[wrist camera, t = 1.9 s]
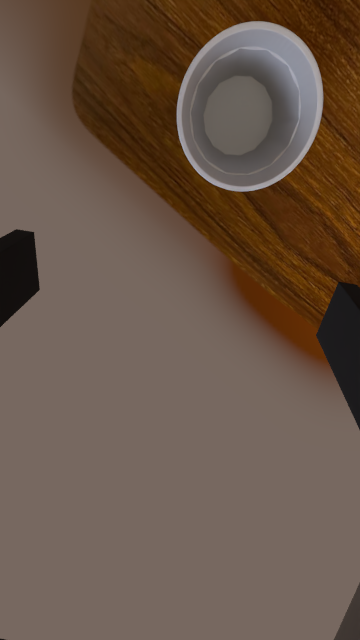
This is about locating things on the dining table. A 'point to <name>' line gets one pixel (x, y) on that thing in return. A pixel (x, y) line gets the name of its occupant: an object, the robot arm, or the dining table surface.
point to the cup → (249, 106)
